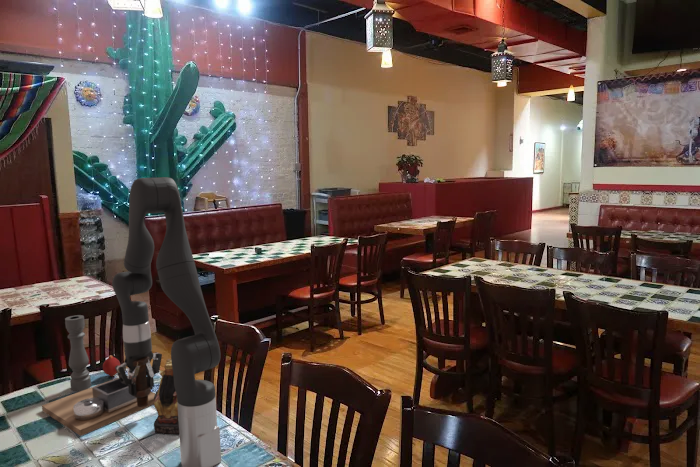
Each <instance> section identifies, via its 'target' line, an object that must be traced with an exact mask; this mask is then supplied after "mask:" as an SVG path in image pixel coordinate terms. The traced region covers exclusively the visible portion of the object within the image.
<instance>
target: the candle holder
mask: <svg viewBox="0 0 700 467" xmlns="http://www.w3.org/2000/svg"><path fill="white" fill-rule="evenodd" d="M64 324H65V329H66V331H67V332H68V333H69V334H68V335H67V339H68V340H69V341H70V352H69V358H68V367H69V368H70V369H71V371H72V373H71V374H70V380H69V382H70V391H72V392H74V393H78V392H80V391H83V390H86V389H89V388H91V387H92V381H91V375H90V371H89V370H88V369H87V368H88V367H87V366H88V365H89V362H90V359H89V355H88V353H87V351H86V348H85V344H84V337H85V336H86V334H85V332H83V331H84V329H85V326H86V324H85V316H84V315H81V314H77V315H70V316H67V317H65V318H64Z"/></svg>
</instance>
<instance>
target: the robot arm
mask: <svg viewBox="0 0 700 467" xmlns="http://www.w3.org/2000/svg"><path fill="white" fill-rule="evenodd" d="M128 204H129V205H128V208H129V209H128V238H127V239H128V240H127V246H126V250H125V255H124V258H123V266H124V269H126V271H123V272H118V273H115V275H114V276H113V277H112V278H113V279H112V283H111V284H112V288H113V291H114V293H115V296H116V298H117V301H118V303H119V306H120V310H121V314H122V315H121V318H122V340H123V350H124V352H123V353H124V356H125V358H124V362H123V363H120V366H118V365H117V366H116V367H115V369H116V371H117V373H116V375H117V376H118V378H120V381H121V383H123V384H125V385H128V388H129V394H131V395H132V396H136V395H137V391H136V384H135V382H136V377H137V376H138V372H139V367H140V366H138V362H137V364H136V366H134V367H133V362H134V361H136V360H139V359H141V358H144V357H147V356H148V357H149V358H150V361H149V359H148V361H149V362H148V363H146V364H145V365H146V377H147V386H149V387H150V388H151V390H153V389H154V386H155V382H154V377H155V375H156V374H160V369H161V364H162V358H163V354H162V353H160V352H157V351H156V352H153V346H152V345H153V344H152V332H151V325H150V319H149V317H150V316H149V307H148V303H147V302H146V301H143V300H142V301H141V300H131V296H133V295H140V294H145V293H147V292H149V290H150V289H151V288H152V286H153V277H152V271H151V270H152V268H151V265H152V264H151V263H152V260H153V257H154V253H155V242H154V241H155V240H154V238H153V237H152V235H151V233H150V231H149V230H148V228H147V227H146V223H145V218H146V216H147V215H151V214H161V213H163V214H164V217H165V223H166V225H165V226H166V228H165V229H166V230H165V235H164V238H163V241H162V243H161V246H160V249H159V250H158V254H157V257H156V261H155V262H156V263H155V264H156V266H155V267H156V271H157V276H158V279H159V284H160V288H161V289H162V291H163V293H164V294H165V295H166V297H168V299H169V300H170V301H171V302H173V304H174V305H176V306H177V307H178V308H179V309H180V310H181V311H182V312H183V313H184V314H185V315H186V317H187V318H188V321H190V324H191V326H192V329H193V332H194V335H189V336H186V337H183V338H180V339H179V338H178V339H177V340H175V341H174V342H173V343H172V345H171V349H170V359H171V361H172V369H173V377H174V386H175V391H176V395H177V405H178V421H179V435H178V436H179V449H180V451H179V452H180V461H181V463H180V464H181V467H214V466H215V467H216V466H217V465H218V464H219V463H221V462H222V448H221V446H222V445H221V432H220V431H221V430H220V426H218V417H217V416H218V415H217V398H216V386H215V384H214V383H213V382H211V381H209V380H206V379H196V376H195V375H196V374H200V373H202V372H204V371H208V370H211V369H213V368H215V367H217V366H218V365H219V364H220V361H221V349H220V348H221V347H220V343H219V341H218V337H217V335H216V332H215V329H214V326H213V323H212V320H211V318H210V315H209V312H208V309H207V305H206V301H205V299H204V295H203V291H202V288H201V283H200V279H199V274H198V271H197V267H196V262H195V258H194V257H193V252H192V249H191V245H190V241H189V237H188V234H187V229H186V223H185V218H184V211H183V207H182V206H183V205H182V200H181V195H180V191H179V188H178V185H177V182H176V181H175V180H174V179H173V178H172V177H167V176H165V177H164V176H162V177H142V178H141V177H140V178H137V179H135V180H134V181H133V182H132V184H131V186H130V192H129V203H128ZM151 363H152V364H151ZM126 368H128V370H127V369H126ZM126 371H128V372H127V373H126ZM127 376H128V378H127Z"/></svg>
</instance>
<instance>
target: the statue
mask: <svg viewBox="0 0 700 467" xmlns="http://www.w3.org/2000/svg"><path fill="white" fill-rule="evenodd" d="M159 374H160V376H161V378H160V382H159V385H158V389H157V390H156V392H155V396H154V399H155V403H154V404H153V406H154V408H155V410H156V412H157V417H156V418H155V419H154V422H153V430H154V433H155V434H159V435H165V436H166V435H169V436H179V421H178V405H177V395H176V391H175V386H174V377H173V369H172V361H171V358H167V359H166V362H165V365H164V370H163V371H161V372H160V371H159Z"/></svg>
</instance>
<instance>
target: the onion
mask: <svg viewBox="0 0 700 467" xmlns="http://www.w3.org/2000/svg"><path fill="white" fill-rule="evenodd" d="M117 365H118V366H120V365H121V362H120V360H119V359H118V358H116V357H115V356H113V355H109V356H108V358H107V359H105V360H104V362H103V364H102V371H103V373H105V374H106V375H108V376H110V377H114V376H116V375H117V371H116V369H115V367H116V366H117Z"/></svg>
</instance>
